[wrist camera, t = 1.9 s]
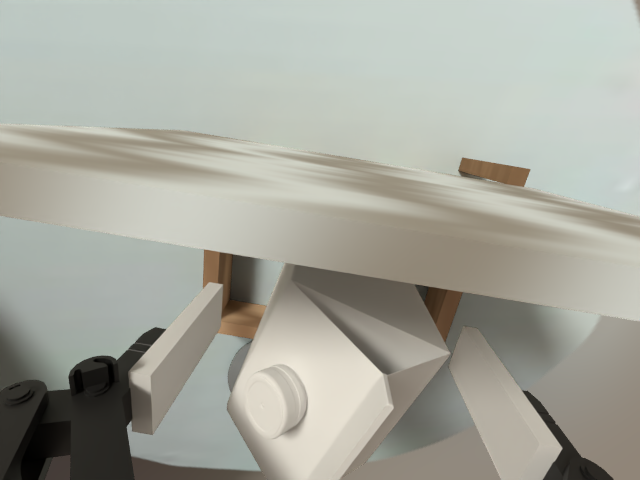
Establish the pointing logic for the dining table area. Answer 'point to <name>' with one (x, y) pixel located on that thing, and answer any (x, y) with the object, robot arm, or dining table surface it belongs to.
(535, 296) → the cold frame
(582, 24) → the dining table surface
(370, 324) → the milk carton
